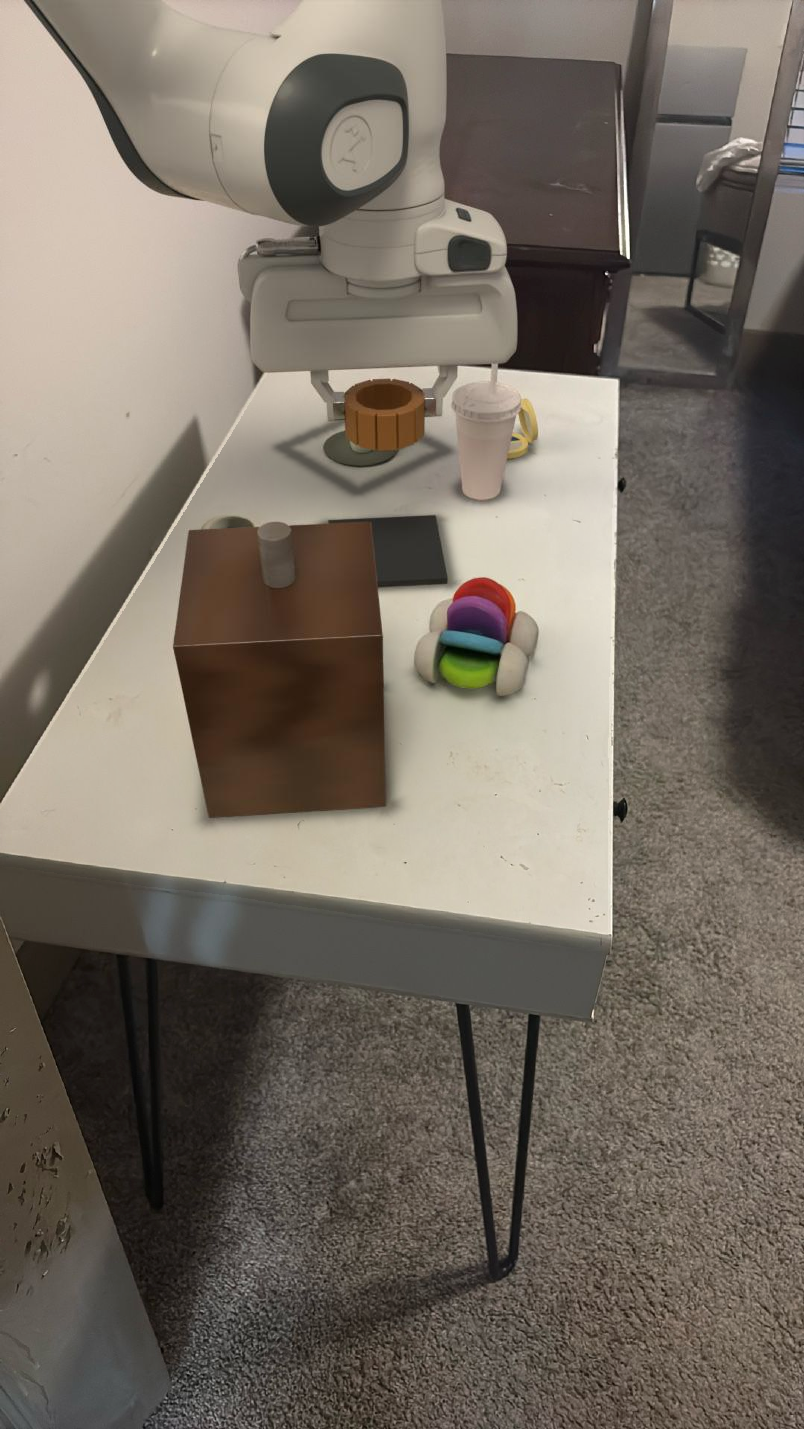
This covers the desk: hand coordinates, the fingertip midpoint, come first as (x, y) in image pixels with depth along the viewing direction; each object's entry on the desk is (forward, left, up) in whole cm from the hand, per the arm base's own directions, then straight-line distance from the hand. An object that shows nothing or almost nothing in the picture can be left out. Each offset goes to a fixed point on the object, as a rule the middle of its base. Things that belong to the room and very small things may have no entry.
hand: (384, 415), depth 80 cm
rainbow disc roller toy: (+6, -16, -14) cm, 22 cm away
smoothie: (+10, +10, -14) cm, 19 cm away
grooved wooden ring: (0, 0, -1) cm, 1 cm away
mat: (0, 0, -13) cm, 13 cm away
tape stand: (-8, -24, -13) cm, 29 cm away
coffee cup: (-1, +19, -14) cm, 23 cm away
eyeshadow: (+14, +18, -14) cm, 26 cm away
